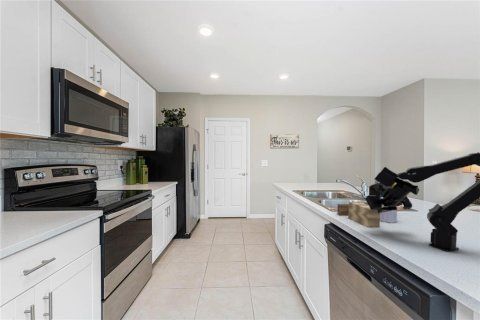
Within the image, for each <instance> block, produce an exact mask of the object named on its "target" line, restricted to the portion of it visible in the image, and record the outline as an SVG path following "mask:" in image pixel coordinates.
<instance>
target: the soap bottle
mask: <svg viewBox="0 0 480 320" xmlns="http://www.w3.org/2000/svg"><path fill="white" fill-rule="evenodd" d="M395 184H396V183H394V184H393V185H392V187H393V186H394V185H395ZM382 198H383V197H382ZM396 208H397V210H394V211H388V212H383V213H380V222H382V223H383V222H384V223H390V224H391V223H393V224H394V223H397V222H398V206H396Z"/></svg>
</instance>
